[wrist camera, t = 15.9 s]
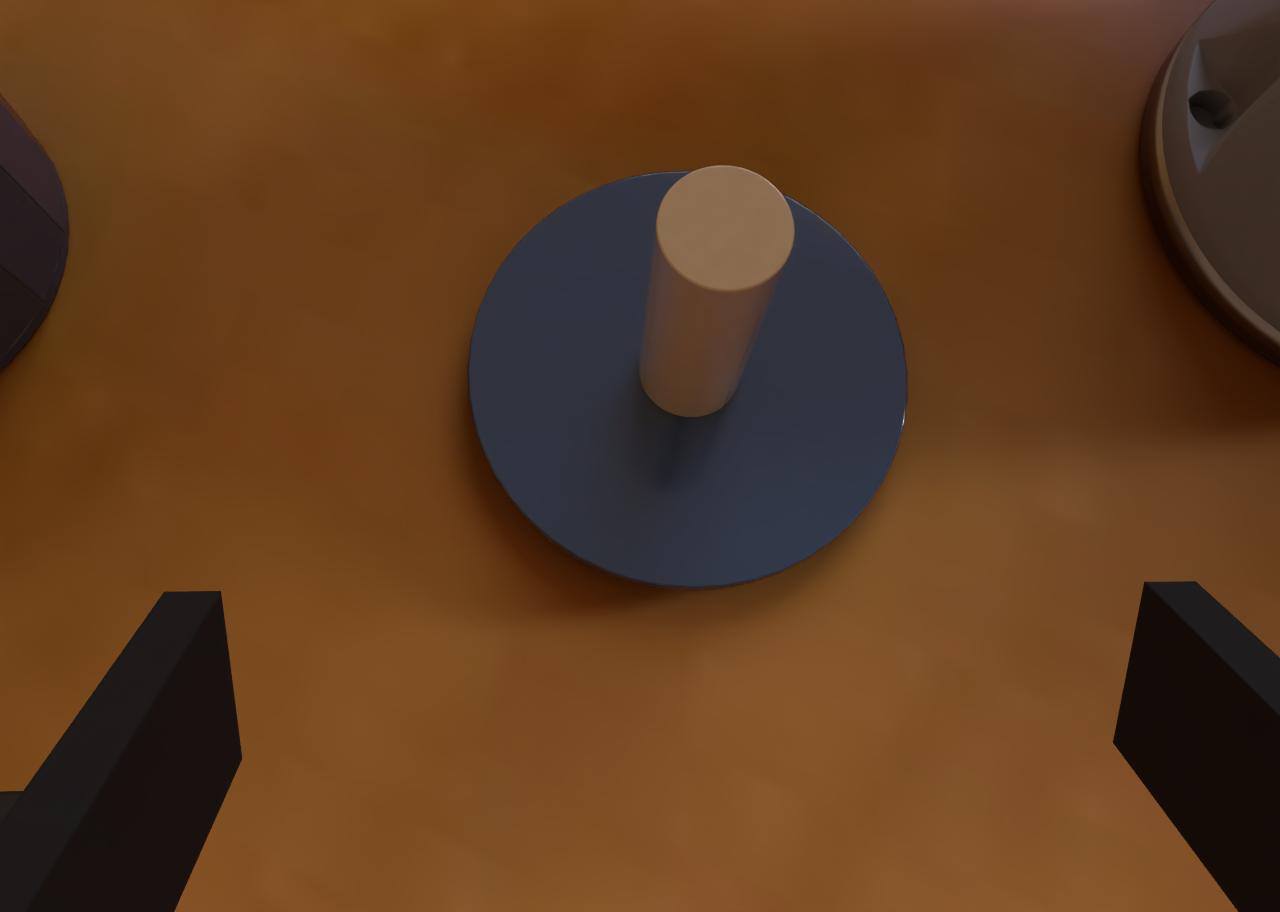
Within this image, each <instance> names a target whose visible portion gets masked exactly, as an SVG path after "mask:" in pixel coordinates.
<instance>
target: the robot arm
mask: <svg viewBox="0 0 1280 912" xmlns="http://www.w3.org/2000/svg"><path fill="white" fill-rule="evenodd" d="M1140 150H1141V170H1142V176H1143V183H1144V189H1145V193H1146V197H1147V201H1148V205H1149V209H1150V212H1151V215H1152V217H1153V220H1154V223H1155V226H1156V228H1157V231H1158V233H1159V235H1160V238H1161V240H1162V242H1163V244H1164V246H1165V248H1166V250H1167V252H1168V254H1169V256H1170V257H1171V259H1172V261H1173V262H1174V264H1175V266H1176V267H1177V269H1178V271H1179V272H1180V274H1181V275H1182V277H1183V278H1184V279H1185V281H1186V282H1187V284H1188V285H1189V286H1190V288H1191V289H1192V290H1193V292H1194V293H1195V294H1196V295H1197V297H1198V298H1199V299H1200V300H1201V301H1202V302H1203V304H1204V305H1205V306H1206V307H1207V308H1208V309H1209V310H1210V312H1212V313H1213V314H1214V315H1215V316H1216V317H1217V318H1218V319H1219V320H1220V321H1221V322H1222V323H1223V324H1224V325H1225V326H1226V327H1227V328H1228V329H1229V330H1230V331H1232V332H1233V333H1234V334H1235V335H1236V336H1238V337H1239V338H1240V339H1241V340H1242V341H1244V342H1245V343H1246V344H1247V345H1249V346H1250V347H1252V348H1253V349H1255V350H1256V351H1257V352H1259V353H1260V354H1262V355H1263V356H1265V357H1266V358H1268V359H1269V360H1271V361H1273V362H1274V363H1276V364H1278V365H1280V0H1214V1H1213V2H1212V3H1211V4H1210V5H1209V6H1208V7H1207V8H1206V9H1205V10H1204V11H1203V13H1202V14H1201V15H1200V16H1199V17H1198V18H1197V19H1196V21H1195V22H1194V23H1193V24H1192V26H1191V27H1190V28H1189V29H1188V30H1187V32H1186V33H1185V34H1184V35H1183V37H1182V38H1181V39H1180V40H1179V42H1178V43H1177V44H1176V46H1175V47H1174V48H1173V50H1172V51H1171V52H1170V53H1169V55H1168V56H1167V58H1166V60H1165V62H1164V63H1163V65H1162V67H1161V68H1160V70H1159V72H1158V74H1157V76H1156V79H1155V81H1154V83H1153V85H1152V88H1151V90H1150V94H1149V97H1148V100H1147V104H1146V107H1145V112H1144V117H1143V123H1142V130H1141V146H1140ZM1113 743H1114V745H1115V746H1116V747H1117V749H1118V750H1119V751H1120V753H1121V754H1122V755H1123V757H1124V758H1125V759H1126V761H1127V762H1128V763H1129V765H1130V766H1131V768H1132V769H1133V770H1134V772H1135V773H1136V774H1137V776H1138V777H1139V778H1140V780H1141V781H1142V782H1143V784H1144V785H1145V786H1146V788H1147V789H1148V790H1149V792H1150V793H1151V795H1152V796H1153V797H1154V799H1155V800H1156V801H1157V803H1158V804H1159V805H1160V807H1161V808H1162V809H1163V811H1164V812H1165V813H1166V815H1167V816H1168V817H1169V819H1170V820H1171V821H1172V823H1173V824H1174V826H1175V827H1176V828H1177V830H1178V831H1179V832H1180V834H1181V835H1182V836H1183V838H1184V839H1185V840H1186V842H1187V843H1188V844H1189V846H1190V847H1191V848H1192V850H1193V851H1194V853H1195V854H1196V855H1197V857H1198V858H1199V859H1200V861H1201V862H1202V863H1203V865H1204V866H1205V867H1206V869H1207V870H1208V871H1209V873H1210V874H1211V875H1212V877H1213V878H1214V879H1215V881H1216V882H1217V884H1218V885H1219V886H1220V888H1221V889H1222V890H1223V892H1224V893H1225V894H1226V896H1227V897H1228V898H1229V900H1230V901H1231V902H1232V904H1233V905H1234V906H1235V908H1236V909H1237V911H1238V912H1280V658H1279V657H1278V656H1277V655H1276V654H1275V653H1274V652H1273V651H1272V650H1270V649H1269V648H1268V647H1267V646H1266V645H1265V644H1264V643H1263V642H1262V641H1261V640H1259V639H1258V638H1257V637H1256V636H1255V635H1254V634H1253V633H1252V632H1251V631H1250V630H1248V629H1247V628H1246V627H1245V626H1244V625H1243V624H1242V623H1241V622H1240V621H1239V620H1237V619H1236V618H1235V617H1234V616H1233V615H1232V614H1231V613H1230V612H1229V611H1228V610H1227V609H1225V608H1224V607H1223V606H1222V605H1221V604H1220V603H1219V602H1218V601H1217V600H1216V599H1214V598H1213V597H1212V596H1211V595H1210V594H1209V593H1208V592H1207V591H1206V590H1205V589H1203V588H1202V587H1201V586H1200V585H1199V584H1198V583H1197V582H1196V581H1191V582H1144V587H1143V592H1142V597H1141V602H1140V607H1139V612H1138V617H1137V622H1136V627H1135V633H1134V638H1133V643H1132V648H1131V653H1130V658H1129V663H1128V668H1127V674H1126V679H1125V684H1124V689H1123V694H1122V699H1121V704H1120V709H1119V714H1118V720H1117V725H1116V730H1115V735H1114V740H1113ZM241 760H242V753H241V745H240V737H239V729H238V721H237V713H236V705H235V698H234V690H233V682H232V674H231V666H230V658H229V651H228V643H227V635H226V627H225V619H224V611H223V604H222V596H221V591H189V592H164V593H163V594H162V596H161V597H160V599H159V600H158V601H157V603H156V604H155V606H154V607H153V608H152V610H151V611H150V613H149V614H148V616H147V617H146V618H145V620H144V621H143V623H142V624H141V625H140V627H139V628H138V630H137V631H136V633H135V634H134V635H133V637H132V638H131V640H130V641H129V642H128V644H127V645H126V647H125V648H124V649H123V651H122V652H121V654H120V655H119V657H118V658H117V659H116V661H115V662H114V664H113V665H112V666H111V668H110V669H109V671H108V672H107V674H106V675H105V676H104V678H103V679H102V681H101V682H100V683H99V685H98V686H97V688H96V689H95V691H94V692H93V693H92V695H91V696H90V698H89V699H88V700H87V702H86V703H85V705H84V706H83V707H82V709H81V710H80V712H79V713H78V715H77V716H76V717H75V719H74V720H73V722H72V723H71V724H70V726H69V727H68V729H67V730H66V732H65V733H64V734H63V736H62V737H61V739H60V740H59V741H58V743H57V744H56V746H55V747H54V748H53V750H52V751H51V753H50V754H49V756H48V757H47V758H46V760H45V761H44V763H43V764H42V765H41V767H40V768H39V770H38V771H37V773H36V774H35V775H34V777H33V778H32V780H31V781H30V782H29V784H28V785H27V787H26V788H25V790H24V791H9V792H0V912H174V911H175V909H176V906H177V904H178V902H179V900H180V897H181V895H182V893H183V891H184V888H185V886H186V884H187V882H188V879H189V877H190V875H191V873H192V870H193V868H194V866H195V864H196V861H197V859H198V857H199V855H200V852H201V850H202V848H203V846H204V843H205V841H206V839H207V837H208V834H209V832H210V830H211V828H212V825H213V823H214V821H215V819H216V816H217V814H218V812H219V810H220V807H221V805H222V803H223V801H224V798H225V796H226V794H227V792H228V789H229V787H230V785H231V783H232V780H233V778H234V776H235V774H236V771H237V769H238V767H239V765H240V762H241Z"/></svg>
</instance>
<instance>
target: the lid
mask: <svg viewBox="0 0 1280 912" xmlns="http://www.w3.org/2000/svg"><path fill="white" fill-rule="evenodd" d="M468 385H469V398H470V404H471V410H472V416H473V422H474V425H475V428H476V431H477V434H478V437H479V440H480V444H481V447H482V450H483V453H484V455H485V457H486V459H487V461H488V463H489V465H490V468H491V470H492V472H493V474H494V476H495V478H496V480H497V481H498V483H499V484H500V486H501V487H502V489H503V490H504V492H505V493H506V495H507V496H508V498H509V499H510V501H511V502H512V504H513V505H514V506H515V507H516V508H517V509H518V511H519V512H520V513H521V514H522V515H523V516H524V517H525V519H526V520H527V521H528V522H529V523H530V524H531V525H532V526H533V527H534V528H535V529H536V530H538V531H539V532H540V533H541V534H542V535H543V536H544V537H546V538H547V539H548V540H549V541H550V542H551V543H552V544H554V545H555V546H557V547H558V548H560V549H561V550H563V551H564V552H566V553H567V554H569V555H570V556H572V557H573V558H575V559H576V560H578V561H580V562H582V563H584V564H586V565H588V566H590V567H592V568H594V569H596V570H598V571H600V572H602V573H604V574H607V575H610V576H613V577H616V578H619V579H622V580H625V581H628V582H631V583H635V584H640V585H645V586H650V587H655V588H660V589H670V590H685V591H699V590H715V589H724V588H730V587H735V586H740V585H745V584H750V583H753V582H756V581H759V580H762V579H765V578H768V577H771V576H774V575H776V574H779V573H781V572H783V571H785V570H787V569H789V568H791V567H793V566H795V565H797V564H799V563H801V562H803V561H805V560H806V559H808V558H809V557H811V556H812V555H814V554H815V553H817V552H818V551H819V550H821V549H822V548H824V547H825V546H827V545H828V544H829V543H830V542H831V541H833V540H834V539H835V538H836V537H837V536H838V535H839V534H840V533H841V532H842V531H844V530H845V529H846V528H847V527H848V526H849V525H850V524H851V523H852V522H853V521H854V520H855V519H856V517H857V516H858V515H859V514H860V513H861V511H862V510H863V509H864V508H865V507H866V505H867V504H868V503H869V502H870V501H871V499H872V497H873V496H874V494H875V493H876V491H877V489H878V488H879V486H880V484H881V483H882V481H883V480H884V478H885V476H886V474H887V472H888V469H889V467H890V465H891V463H892V460H893V458H894V456H895V453H896V451H897V447H898V444H899V440H900V437H901V433H902V430H903V426H904V419H905V412H906V404H907V366H906V359H905V352H904V345H903V341H902V338H901V334H900V330H899V327H898V323H897V320H896V317H895V315H894V312H893V310H892V308H891V305H890V303H889V301H888V298H887V296H886V294H885V292H884V290H883V288H882V287H881V285H880V283H879V282H878V280H877V278H876V277H875V275H874V273H873V271H872V270H871V269H870V267H869V266H868V265H867V263H866V262H865V261H864V259H863V258H862V257H861V256H860V254H859V253H858V252H857V250H856V249H855V248H854V247H853V246H852V245H851V244H850V243H849V242H848V241H847V240H846V239H845V238H844V237H843V236H842V235H841V234H840V233H839V232H838V231H837V230H836V229H835V228H834V227H832V226H831V225H830V224H829V223H827V222H826V221H825V220H823V219H822V218H821V217H820V216H818V215H817V214H816V213H815V212H813V211H811V210H810V209H808V208H806V207H805V206H803V205H801V204H800V203H798V202H797V201H795V200H793V199H792V198H790V197H787V196H785V195H783V194H781V193H780V191H779V190H778V189H777V188H776V187H775V186H774V185H773V184H772V183H771V182H769V181H768V180H767V179H765V178H764V177H762V176H760V175H759V174H757V173H755V172H753V171H750V170H747V169H744V168H741V167H736V166H727V165H718V166H710V167H705V168H701V169H698V170H696V171H693V172H692V171H676V172H657V173H651V174H645V175H639V176H632V177H629V178H625V179H622V180H618V181H615V182H611V183H608V184H605V185H603V186H600V187H598V188H596V189H593V190H591V191H589V192H586V193H584V194H582V195H580V196H578V197H576V198H575V199H573V200H571V201H569V202H568V203H566V204H564V205H563V206H561V207H559V208H558V209H556V210H555V211H554V212H552V213H551V214H550V215H548V216H547V217H546V218H545V219H543V220H542V221H541V222H539V223H538V224H537V225H536V226H535V227H534V228H533V229H532V230H531V231H530V232H529V233H528V234H527V235H526V236H525V237H524V238H523V239H522V240H521V241H520V242H519V243H518V244H517V245H516V246H515V247H514V249H513V250H512V251H511V253H510V254H509V255H508V257H507V258H506V259H505V260H504V262H503V263H502V264H501V266H500V268H499V269H498V271H497V273H496V275H495V276H494V278H493V280H492V282H491V283H490V285H489V287H488V289H487V291H486V293H485V296H484V298H483V301H482V303H481V306H480V308H479V311H478V313H477V317H476V321H475V325H474V329H473V333H472V337H471V343H470V352H469V362H468Z"/></svg>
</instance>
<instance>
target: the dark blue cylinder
mask: <svg viewBox="0 0 1280 912" xmlns="http://www.w3.org/2000/svg"><path fill="white" fill-rule="evenodd" d="M68 235H69V224H68V212H67V204H66V200H65V196H64V191H63V187H62V184H61V181H60V179H59V177H58V174H57V172H56V169H55V166H54V164H53V162H52V161H51V159H50V158H49V156H48V155H47V153H46V151H45V150H44V148H43V146H42V145H41V144H40V143H39V141H38V140H37V139H36V138H35V137H34V136H33V134H32V133H31V131H30V130H29V129H28V127H27V126H26V124H25V123H24V122H23V120H22V119H21V118H20V116H19V115H18V113H17V112H16V111H15V110H14V108H13V107H12V106H11V105H10V104H9V103H8V102H7V100H6V99H5V98H4V97H3V96H2V95H1V93H0V371H1V370H2V369H3V368H4V367H5V366H6V365H7V364H8V363H10V362H11V361H12V359H13V358H14V357H15V356H16V355H17V354H18V353H19V351H20V350H21V349H22V348H23V347H24V346H25V345H26V343H27V342H28V341H29V340H30V338H31V337H32V335H33V334H34V332H35V331H36V329H37V328H38V327H39V325H40V324H41V322H42V321H43V319H44V317H45V315H46V313H47V311H48V309H49V307H50V305H51V303H52V301H53V300H54V297H55V295H56V292H57V289H58V286H59V284H60V281H61V278H62V275H63V271H64V266H65V261H66V256H67V251H68Z"/></svg>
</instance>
